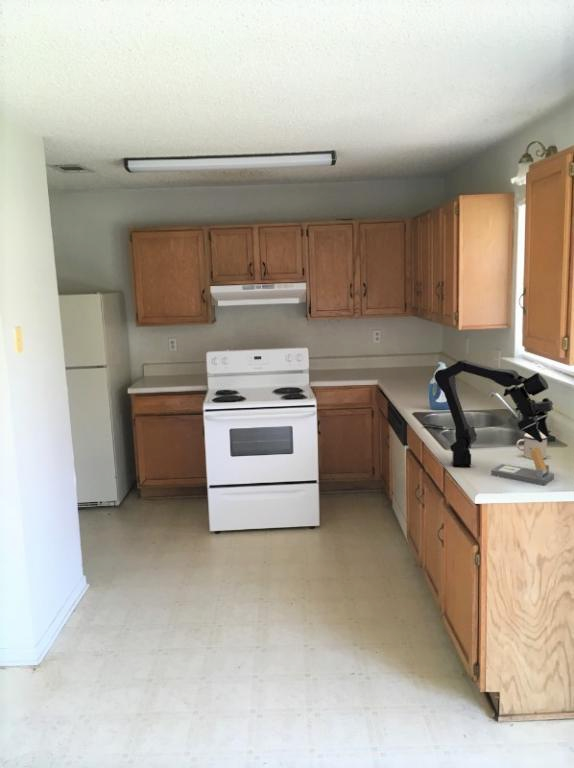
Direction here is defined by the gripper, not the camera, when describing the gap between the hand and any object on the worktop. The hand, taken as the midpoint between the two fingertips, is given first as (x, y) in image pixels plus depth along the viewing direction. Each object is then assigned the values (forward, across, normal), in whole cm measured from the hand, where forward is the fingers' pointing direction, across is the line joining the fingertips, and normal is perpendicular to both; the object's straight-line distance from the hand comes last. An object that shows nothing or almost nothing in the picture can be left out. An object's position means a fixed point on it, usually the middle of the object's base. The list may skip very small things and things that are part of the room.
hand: (544, 439), depth 228 cm
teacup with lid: (+6, +27, +18) cm, 33 cm away
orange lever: (+11, -3, +6) cm, 13 cm away
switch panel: (+9, -2, +14) cm, 17 cm away
